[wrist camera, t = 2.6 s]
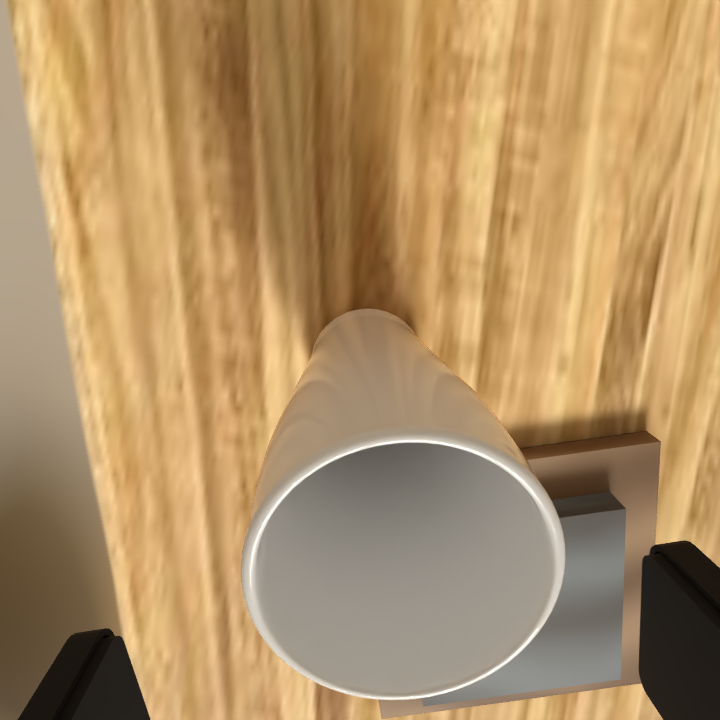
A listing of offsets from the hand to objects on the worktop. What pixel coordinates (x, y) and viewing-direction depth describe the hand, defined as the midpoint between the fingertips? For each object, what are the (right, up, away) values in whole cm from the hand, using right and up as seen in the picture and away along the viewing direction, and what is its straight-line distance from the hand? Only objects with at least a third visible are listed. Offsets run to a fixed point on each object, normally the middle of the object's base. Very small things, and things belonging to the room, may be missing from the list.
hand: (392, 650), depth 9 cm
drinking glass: (0, +5, +16) cm, 16 cm away
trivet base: (+7, -7, +20) cm, 22 cm away
